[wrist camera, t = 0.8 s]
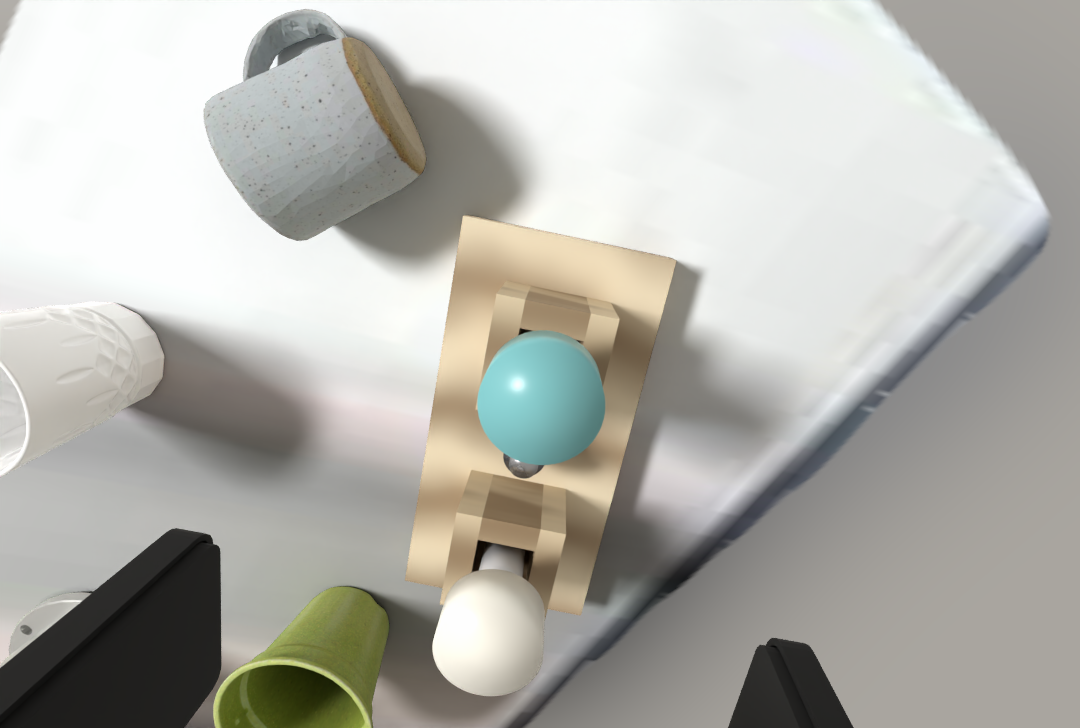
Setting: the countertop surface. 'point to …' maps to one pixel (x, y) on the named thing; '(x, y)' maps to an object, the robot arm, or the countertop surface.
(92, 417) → the white cup
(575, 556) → the mount
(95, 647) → the robot arm
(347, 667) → the plant pot
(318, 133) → the ceramic mug
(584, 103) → the countertop surface
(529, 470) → the grey metal peg
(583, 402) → the teal knob
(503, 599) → the ivory knob
